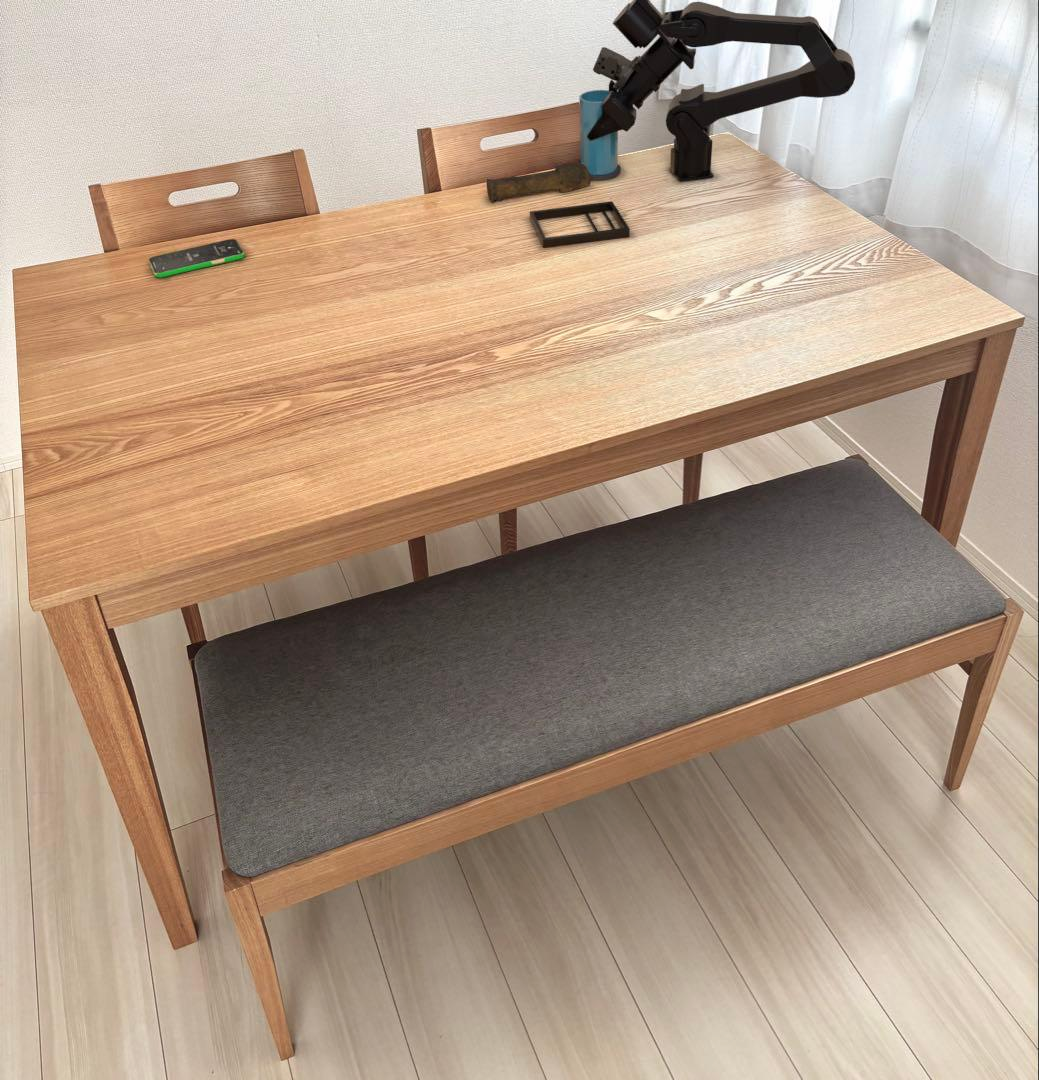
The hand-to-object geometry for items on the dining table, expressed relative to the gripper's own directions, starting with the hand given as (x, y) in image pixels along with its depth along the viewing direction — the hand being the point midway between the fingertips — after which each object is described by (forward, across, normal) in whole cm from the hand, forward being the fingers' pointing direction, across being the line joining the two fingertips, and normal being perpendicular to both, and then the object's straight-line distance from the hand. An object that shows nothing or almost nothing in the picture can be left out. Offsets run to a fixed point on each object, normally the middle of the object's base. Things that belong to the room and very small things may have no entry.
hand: (591, 131), depth 191 cm
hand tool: (+11, +10, 0) cm, 15 cm away
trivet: (+4, 0, +6) cm, 8 cm away
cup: (+4, 0, +6) cm, 7 cm away
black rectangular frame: (+5, +25, +6) cm, 26 cm away
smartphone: (+48, +42, -38) cm, 74 cm away
